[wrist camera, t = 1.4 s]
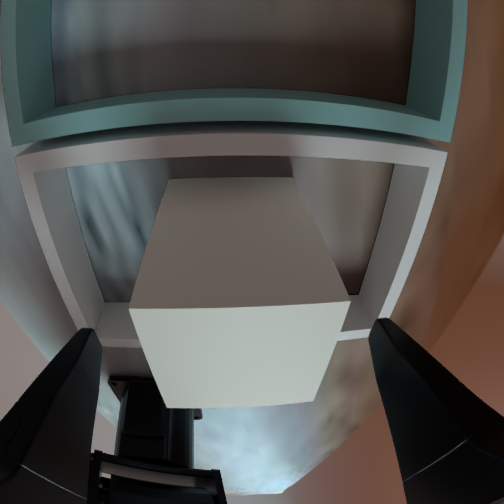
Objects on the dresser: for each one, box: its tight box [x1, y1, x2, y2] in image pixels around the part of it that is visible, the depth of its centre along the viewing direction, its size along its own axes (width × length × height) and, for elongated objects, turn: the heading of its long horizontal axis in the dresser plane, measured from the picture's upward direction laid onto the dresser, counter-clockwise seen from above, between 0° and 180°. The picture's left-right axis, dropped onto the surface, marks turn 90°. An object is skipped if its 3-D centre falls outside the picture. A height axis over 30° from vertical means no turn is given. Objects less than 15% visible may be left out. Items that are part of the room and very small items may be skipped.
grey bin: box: [15, 121, 448, 348], centre depth 13 cm, size 10×15×2 cm, turn 88°
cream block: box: [129, 177, 351, 408], centre depth 11 cm, size 5×5×7 cm
